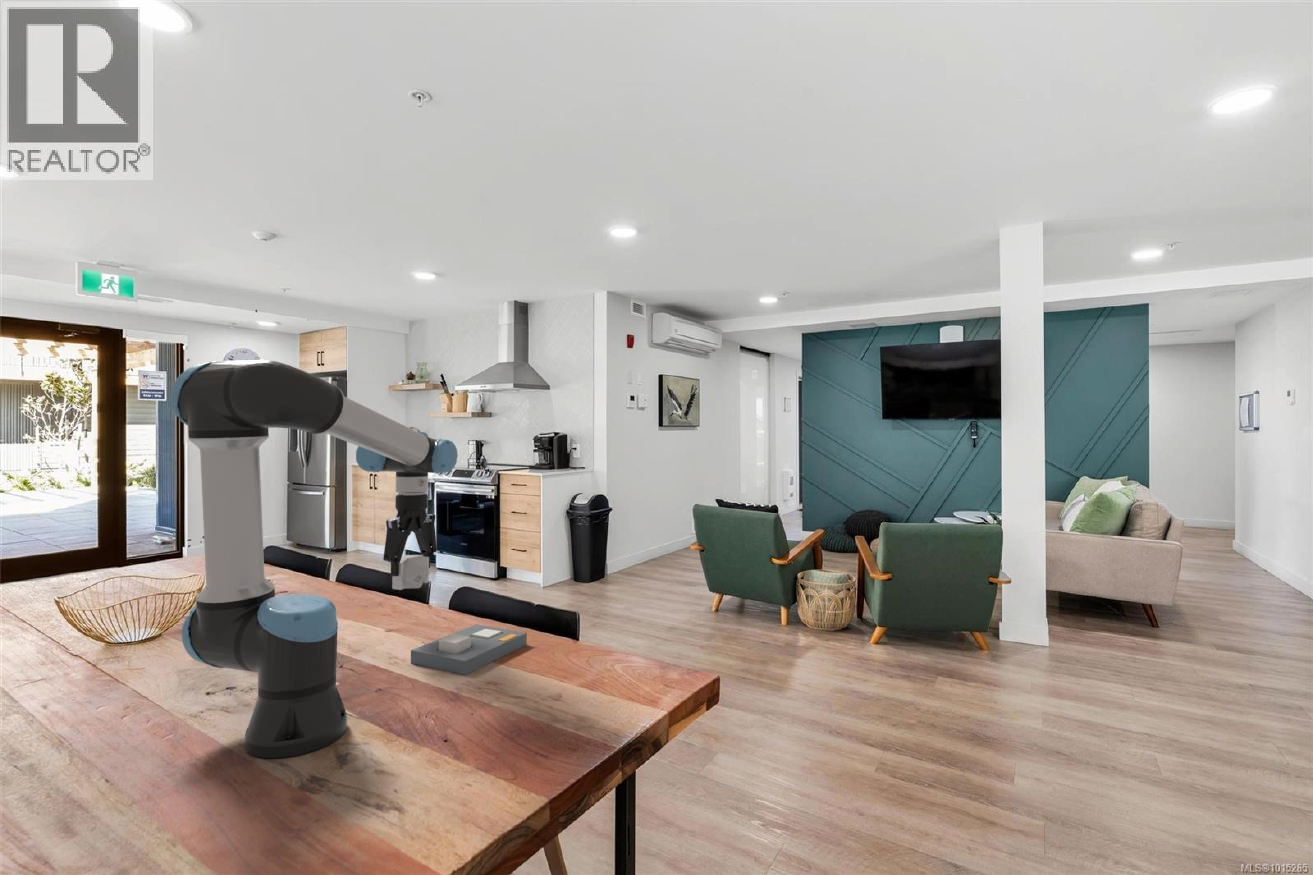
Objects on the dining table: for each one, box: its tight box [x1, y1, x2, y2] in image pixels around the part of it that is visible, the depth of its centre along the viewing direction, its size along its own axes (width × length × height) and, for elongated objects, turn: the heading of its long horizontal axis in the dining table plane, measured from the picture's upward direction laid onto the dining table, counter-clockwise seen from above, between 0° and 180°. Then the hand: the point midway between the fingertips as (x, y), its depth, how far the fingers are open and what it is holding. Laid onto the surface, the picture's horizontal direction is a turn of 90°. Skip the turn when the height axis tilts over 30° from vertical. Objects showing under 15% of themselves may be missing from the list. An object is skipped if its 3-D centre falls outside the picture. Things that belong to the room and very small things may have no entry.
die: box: [400, 554, 431, 590], centre depth 153 cm, size 8×9×10 cm
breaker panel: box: [410, 623, 528, 676], centre depth 147 cm, size 22×16×3 cm
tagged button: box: [472, 629, 501, 640], centre depth 152 cm, size 5×5×3 cm
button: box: [439, 633, 471, 654], centre depth 142 cm, size 5×5×3 cm
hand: (410, 585), depth 153 cm, fingers closed on die, 7 cm apart
